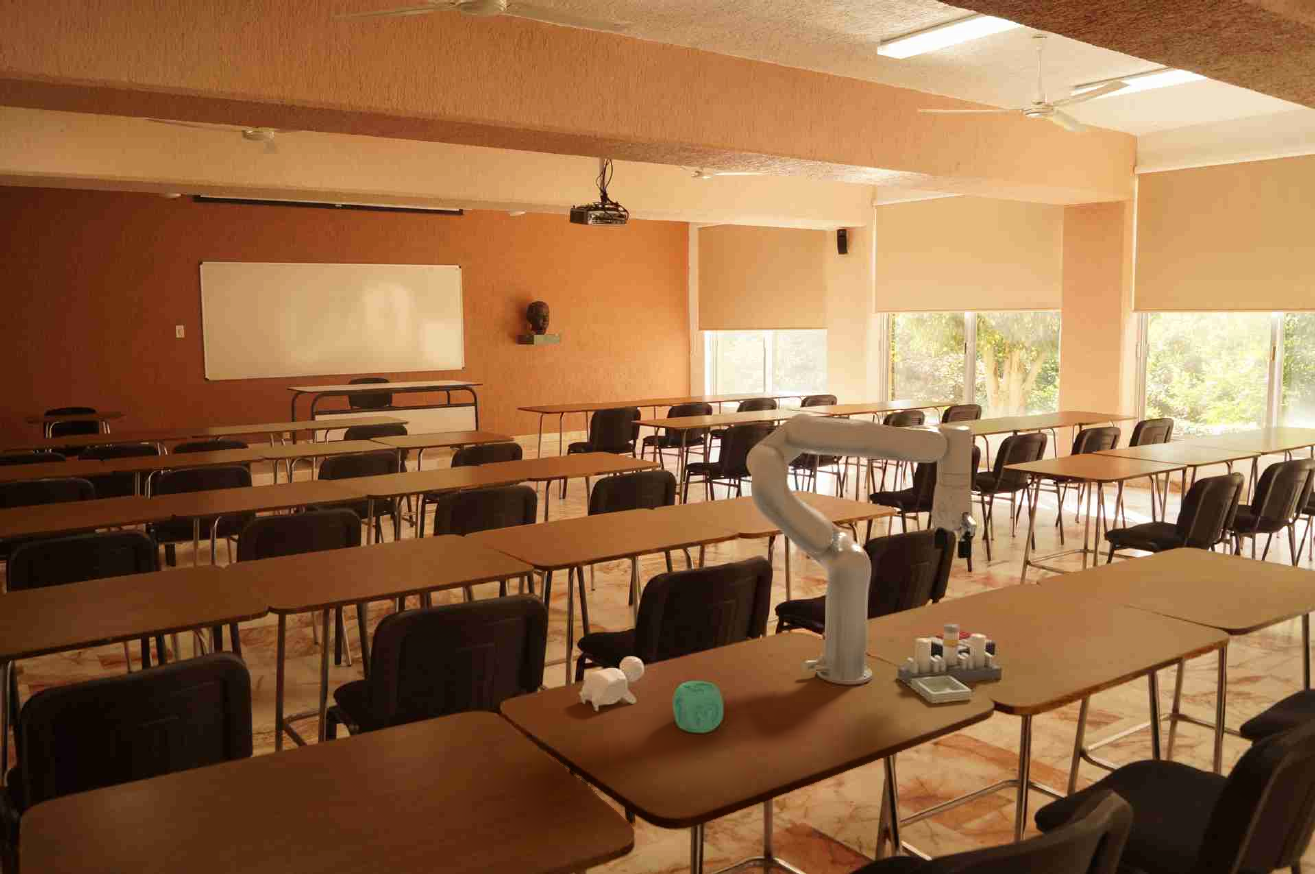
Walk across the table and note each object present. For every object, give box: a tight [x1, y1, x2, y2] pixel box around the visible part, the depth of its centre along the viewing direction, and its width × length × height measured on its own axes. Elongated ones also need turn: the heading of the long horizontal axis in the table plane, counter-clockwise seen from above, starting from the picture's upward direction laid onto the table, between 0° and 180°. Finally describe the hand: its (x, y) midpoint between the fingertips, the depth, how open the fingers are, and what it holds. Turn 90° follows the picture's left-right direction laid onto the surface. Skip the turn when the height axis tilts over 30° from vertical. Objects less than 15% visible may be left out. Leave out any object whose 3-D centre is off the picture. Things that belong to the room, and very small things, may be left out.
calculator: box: [926, 630, 996, 658], centre depth 242 cm, size 11×4×15 cm
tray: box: [910, 675, 973, 702], centre depth 216 cm, size 9×9×2 cm
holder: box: [897, 633, 1003, 685], centre depth 225 cm, size 23×6×10 cm, turn 104°
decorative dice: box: [672, 680, 724, 734], centre depth 199 cm, size 8×8×8 cm
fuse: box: [942, 622, 960, 670], centre depth 225 cm, size 3×3×10 cm
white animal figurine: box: [578, 655, 645, 712], centre depth 212 cm, size 9×8×15 cm
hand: (952, 552), depth 225 cm, fingers open, 9 cm apart
